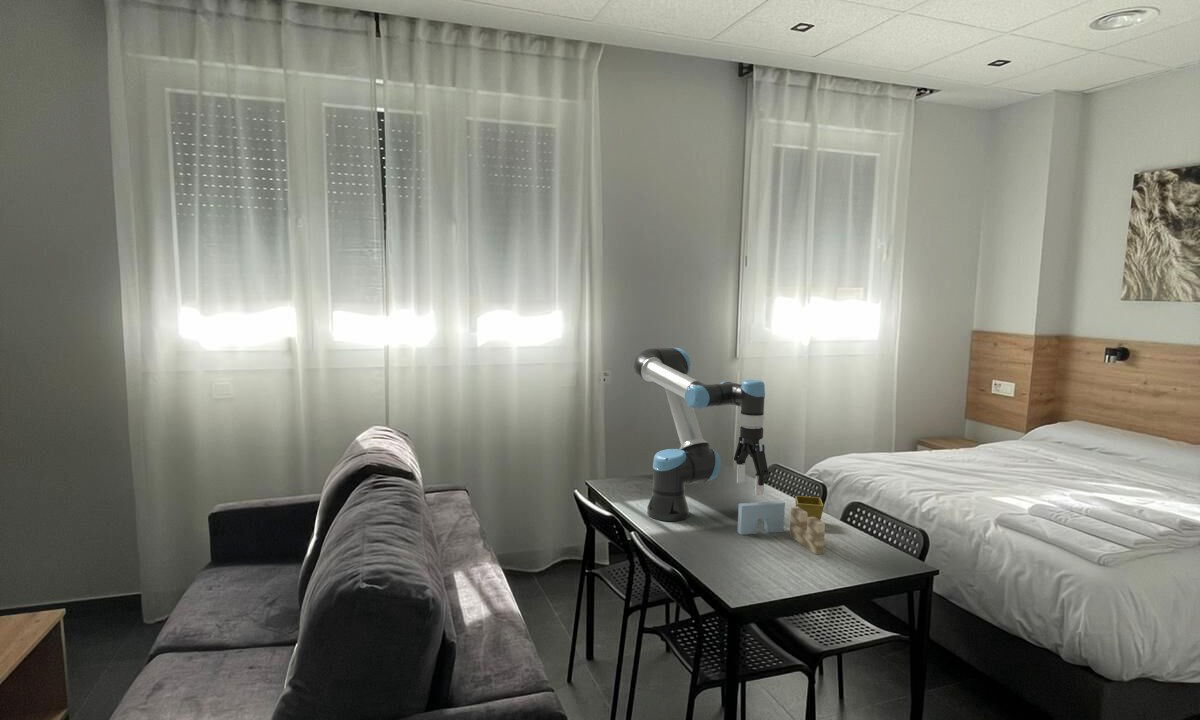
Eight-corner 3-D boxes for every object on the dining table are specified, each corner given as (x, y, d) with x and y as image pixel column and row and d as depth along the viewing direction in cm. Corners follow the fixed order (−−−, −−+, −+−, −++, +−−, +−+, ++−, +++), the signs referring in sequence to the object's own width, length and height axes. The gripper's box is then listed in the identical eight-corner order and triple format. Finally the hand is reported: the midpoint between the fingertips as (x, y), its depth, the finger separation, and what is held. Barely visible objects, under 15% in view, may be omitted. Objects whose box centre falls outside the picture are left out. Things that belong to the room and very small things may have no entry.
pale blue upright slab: (740, 534, 220) (741, 506, 219) (737, 532, 222) (738, 503, 221) (783, 531, 224) (784, 503, 222) (779, 528, 226) (781, 500, 225)
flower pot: (822, 530, 225) (823, 505, 224) (796, 528, 227) (797, 503, 226) (819, 521, 234) (820, 497, 233) (793, 519, 235) (795, 495, 235)
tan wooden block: (823, 554, 205) (825, 523, 204) (816, 554, 204) (817, 523, 203) (796, 535, 220) (797, 506, 219) (789, 535, 219) (791, 507, 218)
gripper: (780, 433, 207) (778, 498, 209) (745, 419, 231) (743, 477, 233) (759, 434, 205) (756, 500, 207) (725, 419, 229) (723, 478, 231)
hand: (749, 488), depth 220 cm, fingers open, 13 cm apart
